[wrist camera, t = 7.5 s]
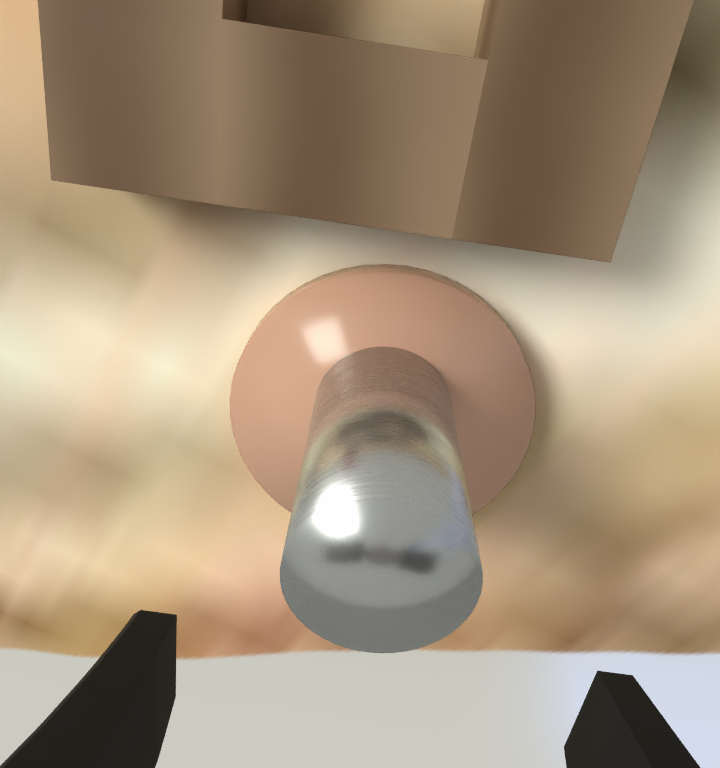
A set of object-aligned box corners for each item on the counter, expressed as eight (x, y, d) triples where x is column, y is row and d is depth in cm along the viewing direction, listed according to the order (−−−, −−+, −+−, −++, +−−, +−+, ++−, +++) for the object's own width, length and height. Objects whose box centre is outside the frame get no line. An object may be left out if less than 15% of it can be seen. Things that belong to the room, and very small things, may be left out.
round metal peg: (463, 355, 18) (501, 512, 12) (438, 473, 20) (462, 662, 14) (320, 338, 18) (285, 488, 12) (310, 457, 20) (274, 641, 14)
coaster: (566, 289, 18) (573, 298, 17) (492, 540, 22) (495, 556, 21) (244, 242, 18) (237, 250, 17) (228, 504, 22) (223, 519, 21)
